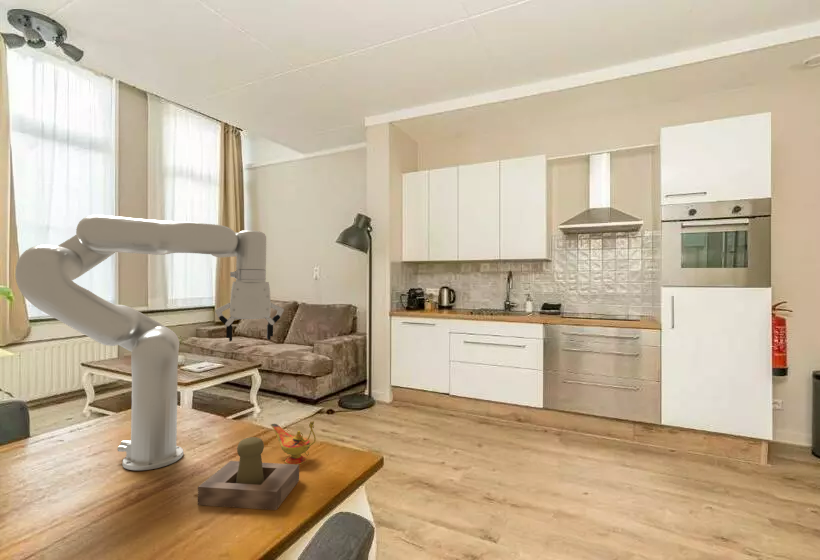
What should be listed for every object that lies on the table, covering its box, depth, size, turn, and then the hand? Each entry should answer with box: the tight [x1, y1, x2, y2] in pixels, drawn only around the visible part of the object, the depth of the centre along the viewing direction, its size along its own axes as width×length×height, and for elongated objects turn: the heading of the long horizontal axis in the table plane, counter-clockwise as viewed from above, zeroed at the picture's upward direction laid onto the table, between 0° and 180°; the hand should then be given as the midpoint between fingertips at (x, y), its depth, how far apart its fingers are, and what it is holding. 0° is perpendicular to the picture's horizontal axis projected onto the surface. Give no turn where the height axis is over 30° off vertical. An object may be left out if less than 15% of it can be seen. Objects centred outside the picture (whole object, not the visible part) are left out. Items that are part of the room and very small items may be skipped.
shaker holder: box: [197, 460, 300, 511], centre depth 85 cm, size 16×12×4 cm
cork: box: [236, 436, 265, 485], centre depth 85 cm, size 6×6×11 cm
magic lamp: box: [270, 420, 317, 465], centre depth 102 cm, size 7×18×11 cm, turn 52°
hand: (249, 339), depth 111 cm, fingers open, 9 cm apart
